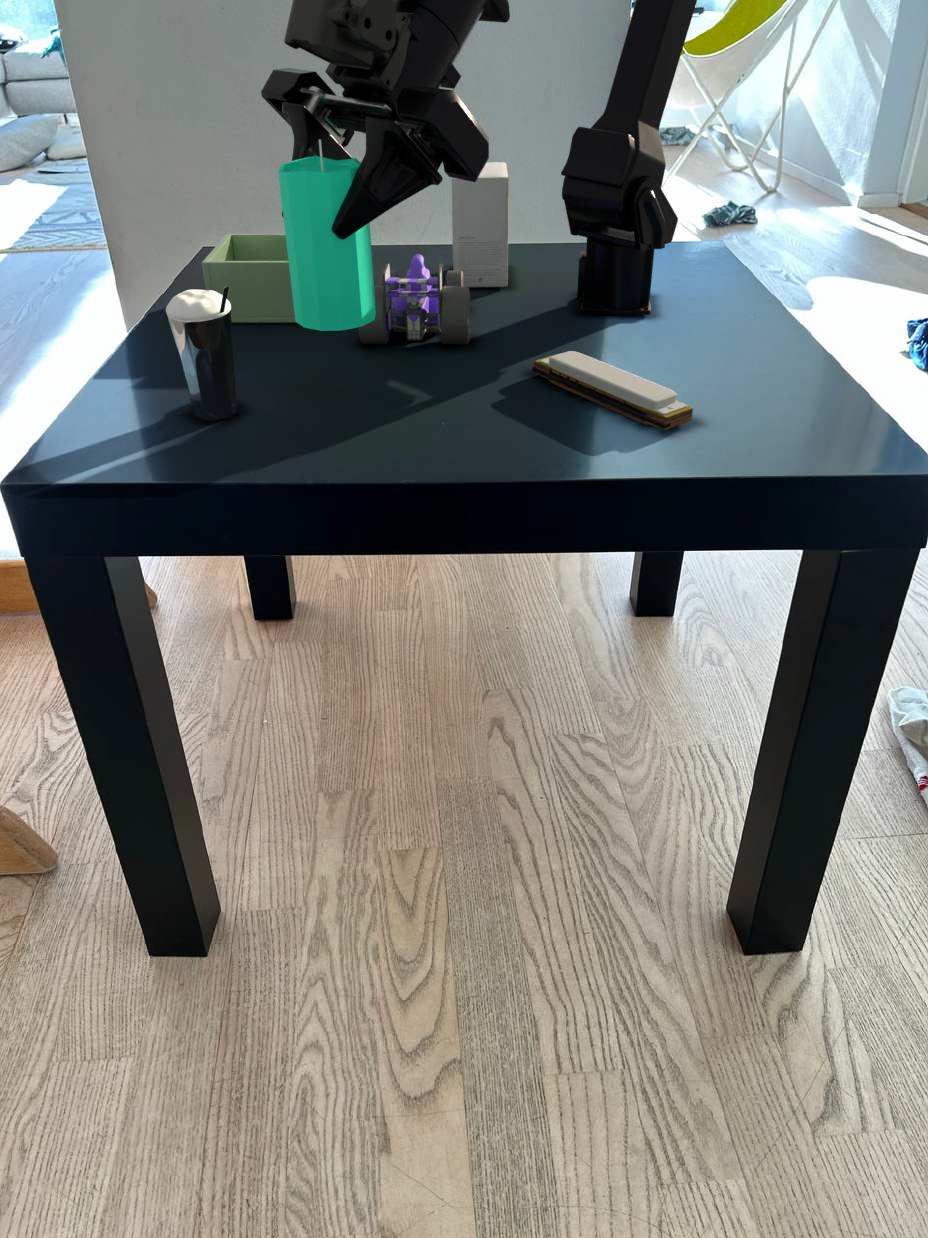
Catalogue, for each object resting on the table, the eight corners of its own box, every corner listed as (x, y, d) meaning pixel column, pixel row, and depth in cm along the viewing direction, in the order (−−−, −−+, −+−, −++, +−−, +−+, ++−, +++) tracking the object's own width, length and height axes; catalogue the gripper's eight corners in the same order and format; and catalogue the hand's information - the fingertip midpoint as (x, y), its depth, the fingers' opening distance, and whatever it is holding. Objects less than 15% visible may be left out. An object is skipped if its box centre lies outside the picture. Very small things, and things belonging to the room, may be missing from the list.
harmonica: (531, 375, 82) (532, 351, 81) (559, 366, 83) (560, 343, 82) (662, 434, 72) (665, 408, 71) (691, 423, 74) (695, 397, 73)
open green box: (333, 289, 101) (329, 233, 98) (319, 322, 93) (313, 262, 90) (234, 289, 102) (226, 233, 99) (210, 322, 93) (201, 262, 90)
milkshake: (225, 432, 73) (203, 295, 67) (172, 417, 76) (147, 283, 70) (266, 410, 76) (248, 278, 71) (214, 396, 79) (193, 267, 73)
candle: (360, 333, 71) (346, 149, 64) (282, 327, 72) (260, 146, 65) (387, 306, 75) (376, 132, 69) (312, 301, 77) (295, 130, 70)
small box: (507, 288, 101) (509, 177, 95) (452, 288, 101) (451, 177, 95) (506, 266, 108) (507, 160, 102) (454, 266, 108) (452, 161, 102)
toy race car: (474, 298, 99) (473, 229, 95) (468, 352, 86) (468, 275, 83) (377, 297, 99) (373, 229, 95) (358, 351, 87) (353, 275, 83)
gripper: (265, -68, 68) (153, 133, 68) (454, -68, 57) (318, 172, 57) (364, 53, 77) (264, 230, 77) (543, 74, 66) (425, 280, 66)
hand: (311, 227), depth 69 cm, fingers closed on candle, 5 cm apart
